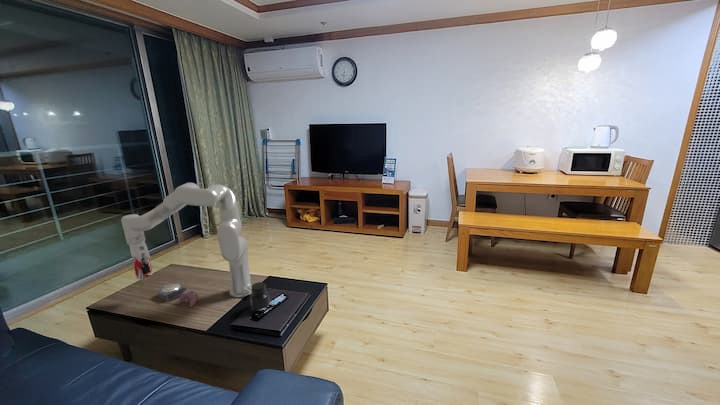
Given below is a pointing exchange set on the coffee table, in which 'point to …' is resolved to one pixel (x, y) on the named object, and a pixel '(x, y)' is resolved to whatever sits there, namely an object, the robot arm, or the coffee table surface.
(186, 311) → the coffee table surface
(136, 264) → the soda can
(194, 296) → the video game controller
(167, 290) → the motor block
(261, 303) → the ink bottle
